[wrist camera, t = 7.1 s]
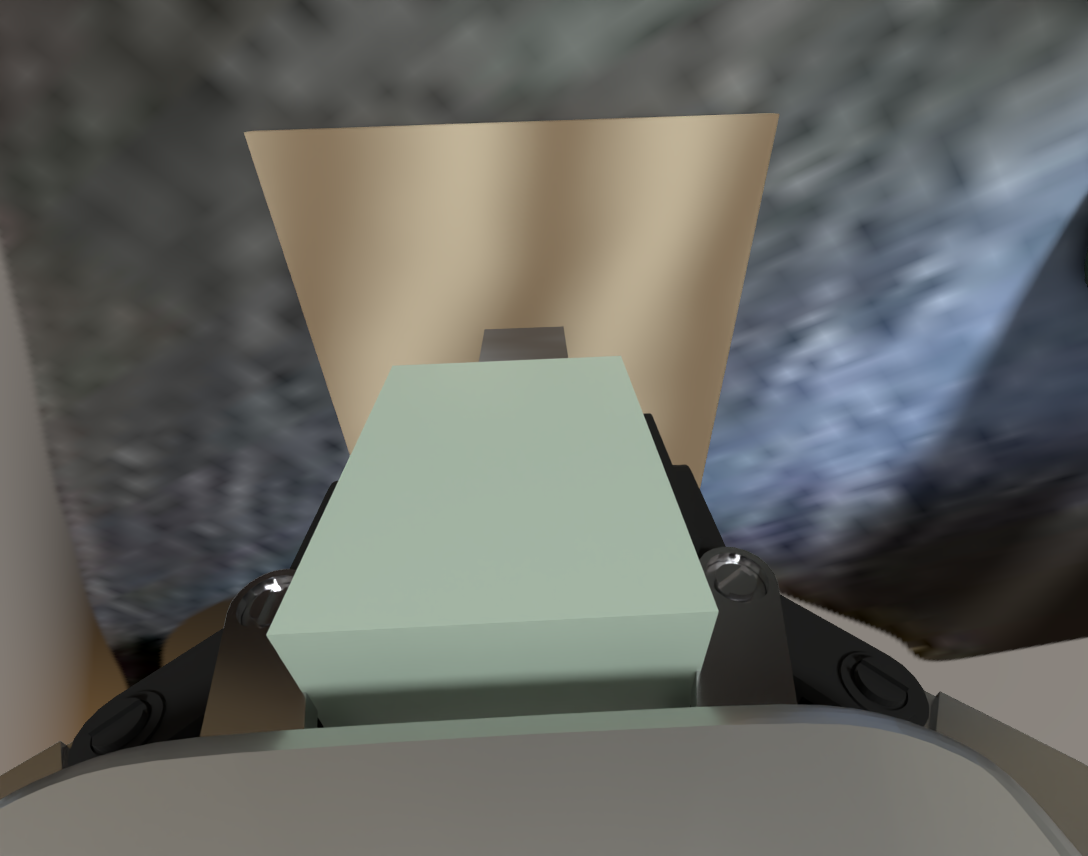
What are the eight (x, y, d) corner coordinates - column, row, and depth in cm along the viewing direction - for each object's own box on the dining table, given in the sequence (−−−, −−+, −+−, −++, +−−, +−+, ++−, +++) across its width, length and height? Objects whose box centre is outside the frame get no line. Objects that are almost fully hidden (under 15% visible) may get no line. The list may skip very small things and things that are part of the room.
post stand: (769, 113, 13) (959, 129, 7) (692, 493, 21) (754, 643, 15) (254, 130, 13) (38, 160, 7) (374, 506, 21) (316, 662, 15)
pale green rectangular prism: (620, 355, 11) (719, 611, 6) (609, 517, 14) (665, 786, 9) (392, 365, 11) (265, 634, 5) (430, 526, 14) (372, 803, 8)
